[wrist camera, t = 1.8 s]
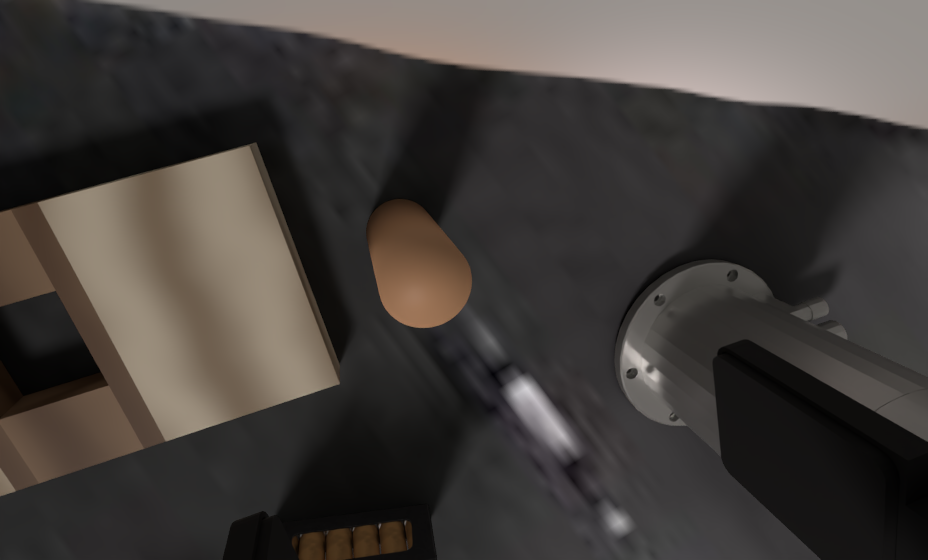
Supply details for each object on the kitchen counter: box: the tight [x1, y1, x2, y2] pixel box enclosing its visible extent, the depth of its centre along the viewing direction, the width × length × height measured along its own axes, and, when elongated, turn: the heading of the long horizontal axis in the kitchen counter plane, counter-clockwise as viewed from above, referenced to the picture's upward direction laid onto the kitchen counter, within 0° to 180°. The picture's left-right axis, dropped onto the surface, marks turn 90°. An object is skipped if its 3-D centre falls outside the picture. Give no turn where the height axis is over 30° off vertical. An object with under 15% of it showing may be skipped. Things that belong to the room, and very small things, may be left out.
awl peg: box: [366, 199, 472, 328], centre depth 28 cm, size 4×4×10 cm
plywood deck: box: [0, 143, 340, 496], centre depth 29 cm, size 20×14×2 cm
